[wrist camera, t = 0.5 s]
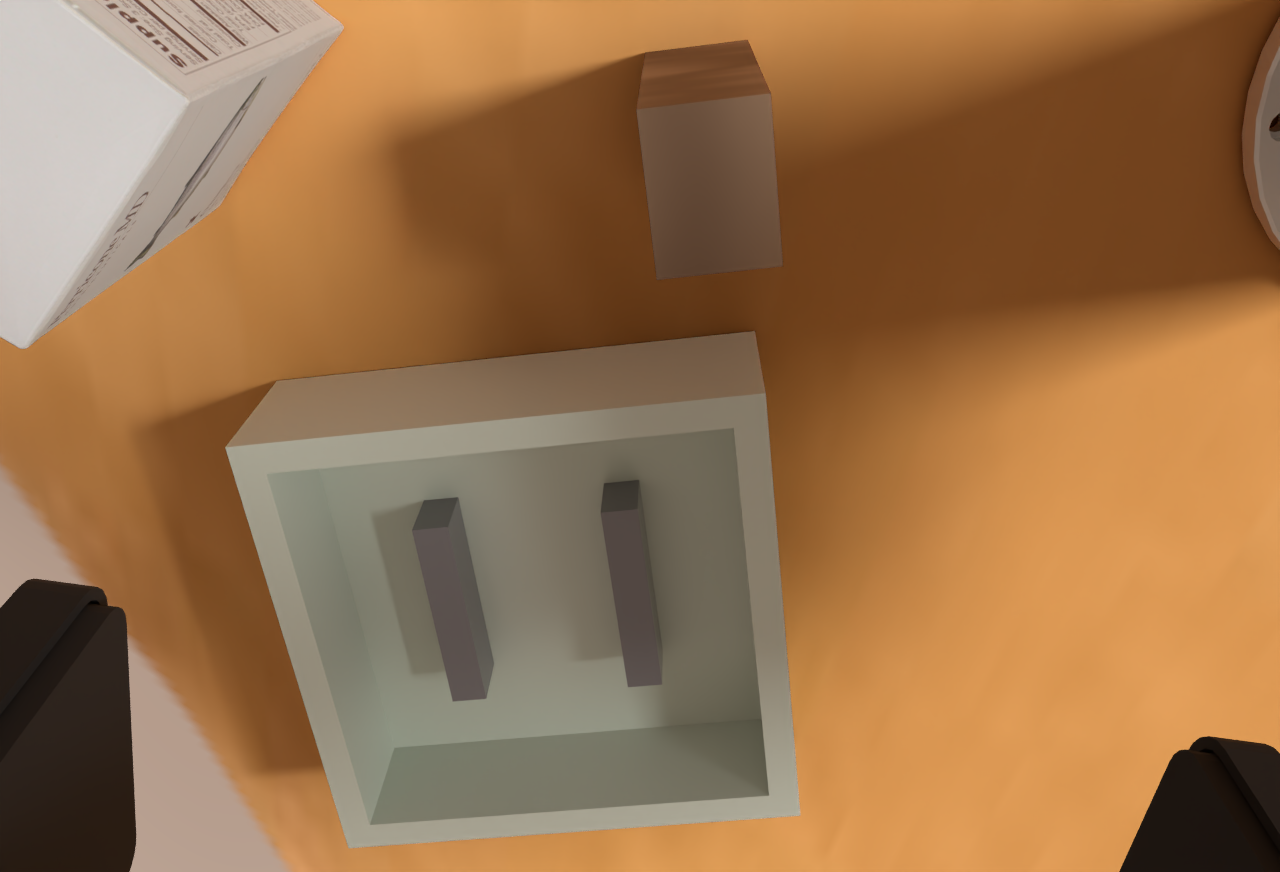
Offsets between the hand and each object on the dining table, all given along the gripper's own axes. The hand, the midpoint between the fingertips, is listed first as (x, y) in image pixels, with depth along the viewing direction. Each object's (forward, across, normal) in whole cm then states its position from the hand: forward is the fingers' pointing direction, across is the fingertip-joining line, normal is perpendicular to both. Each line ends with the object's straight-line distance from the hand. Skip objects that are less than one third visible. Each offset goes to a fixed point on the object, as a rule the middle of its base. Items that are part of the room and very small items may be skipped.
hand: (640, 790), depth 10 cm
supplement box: (+28, +14, -1) cm, 31 cm away
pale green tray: (+28, +1, +15) cm, 32 cm away
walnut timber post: (+28, -1, -1) cm, 28 cm away
